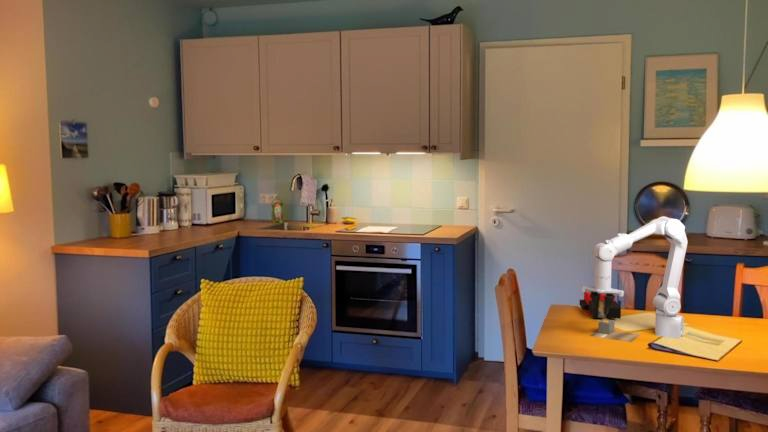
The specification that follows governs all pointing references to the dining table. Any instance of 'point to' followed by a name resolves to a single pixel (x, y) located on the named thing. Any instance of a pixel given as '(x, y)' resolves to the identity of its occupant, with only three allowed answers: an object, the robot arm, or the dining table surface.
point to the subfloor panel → (617, 336)
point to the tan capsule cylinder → (601, 309)
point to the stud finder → (606, 326)
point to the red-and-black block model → (590, 309)
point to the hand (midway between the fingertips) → (601, 313)
